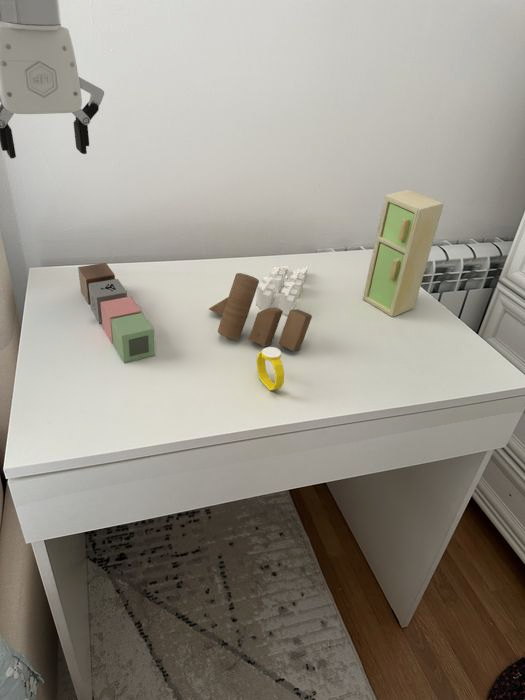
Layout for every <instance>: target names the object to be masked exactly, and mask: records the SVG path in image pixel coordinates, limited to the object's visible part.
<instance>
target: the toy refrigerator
mask: <svg viewBox="0 0 525 700" xmlns="http://www.w3.org/2000/svg"><path fill="white" fill-rule="evenodd" d="M443 207H444V203H443V202H441V201H439V200H436V199H434V198H432V197H429V196H427V195H424V194H423V193H419V192H417V191H414V190H411V189H405V190H399V191H395V192H392V193H387V194H385V196H384V199H383V203H382V207H381V212H380V217H379V222H378V226H377V231H376V236H375V239H374V245H373V249H372V254H371V258H370V259H371V260H370V263H369V268H368V272H367V277H366V280H365V281H366V282H365V285H364V291H363V295H362V300H364V301H365V302H367V303H368V304H370V305H372V306H373V307H375V308H377V309H378V310H380V311H382V312H383V313H385V314H387V315H388V316H390V317H396V316H399V315H401V314H404V313H406V312H408V311H410V310H411V311H412V310H413V309H414V308H415V307H416V303H417V299H418V296H419V293H420V288H421V285H422V282H423V280H424V279H423V278H424V275H425V272H426V268H427V265H428V261H429V257H430V253H431V250H432V248H433V243H434V241H435V240H434V239H435V237H436V232H437V231H438V230H437V229H438V225H439V222H440V219H441V216H442V213H443Z"/></svg>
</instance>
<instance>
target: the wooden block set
mask: <svg viewBox="0 0 525 700" xmlns="http://www.w3.org/2000/svg"><path fill="white" fill-rule="evenodd" d="M259 280H260V279H258V278H257V277H254V276H252V275H249V274H246V273H241V272H237V273H236V274H235V276H234V279H233V282H232V284H231V288H230V291H229V294H228V297H225V298H224V299H222V300H221V301H219V302H218V303H216V304H214V305H212V306H211V307H209V308H208V310H209V311H211V312H213V313H216V314H218V315H220V316H221V319H220V322H219V325H218V329H217V333H218V334H219V335H220V336H222V337H224V338H226V339H230V340H239V339H241V337H242V334H243V331H244V328H245V325H246V322H247V319H248V316H249V313H250V310H251V307H252V304H253V301H254V298H255V296H256V293H257V289H258V286H259V284H260V281H259ZM282 312H283V311H282V310H280V309H279V307H269V308H267V309H265V310H263V309H262V310H261V311H260V312H257V313H256V316H255V319H254V322H253V326H252V328H251V331H250V334H249V336H248V340H249V341H251V342H254V343H256V344H258V345H259V346H262V347H266V346H267V347H268V346H270V345H272V344H273V341H274V338H275V335H276V332H277V329H278V326H279V323H280V320H281V318H282V315H283V314H282ZM312 318H313V315H312V314H310V313H309V312H306V311H304V310H300V309H299V308H294V309H293V310H290V312H289V315H287V318H286V321H285V323H284V326H283V329H282V332H281V334H280V337H279V340H278V343H277V344H278V345H279V346H281V347H283V348H286V349H288V350H290V351H292V352H296V351H298V350H300V349H301V348H302V346H303V343H304V340H305V337H306V335H307V331H308V329H309V326H310V323H311V321H312Z"/></svg>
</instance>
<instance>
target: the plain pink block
mask: <svg viewBox="0 0 525 700" xmlns="http://www.w3.org/2000/svg"><path fill="white" fill-rule="evenodd" d="M100 304H101V314H102V323H101V324H102V330H103V331H104V332H105V334H106V336H107V337H108V339H109V341H110V343H111V345H113V334H112V323H111V319H115V318H120V317H124V316H129V315H134V314H139V313H142V310H141V308H139V306H138V305H137V303H136V302H135V300H134V299H133V298H132V296H127V297H125V298H119V299H114V300H109V301H104V302H100Z"/></svg>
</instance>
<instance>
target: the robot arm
mask: <svg viewBox="0 0 525 700" xmlns="http://www.w3.org/2000/svg"><path fill="white" fill-rule="evenodd" d="M61 21H62V20H61V13H60V2H59V0H0V148H1V150H2V151H3V152H5V151H6V153H7V156H8V157H9V158H10V159H16V158H17V154H16V149H15V141H14V137H13V136H14V135H13V131H12V128H11V127H10V125H9V122H10V120H11V119H12V118H13V116H14V115H15V114H16V115H48V114H52V115H53V114H71V113H72V114H73V116H74V117H75V119H74V121H73V133H74V141H75V148H76V150H77V151H78V152H79V153H80V154H82V155H87V154H88V153H87V152H88V151H87V147H90V138H89V137H90V136H89V135H90V134H89V126H88V125H90V123H91V120H92V119H93V118H94V117H95V115H96V114H97V113H98V112H99V109H100V105H101V104H102V101H103V98H104V96H105V90H103V89H102V88H101V87H99V86H97V85H95V84H93V83H91V82H89V81H87V80H85V79H84V78H82V77H81V76H79V72H78V65H77V60H76V55H75V50H74V45H73V41H72V38H71V34H70V30H69V28H67V27H65V26H62V22H61ZM82 90H83V91H85V92H87V93H88V94H89V95H90V97H89V101H88V102H87V103H86V104H85V105H84V107H82V106H83V105H82V104H83V100H82V99H83V97H82Z"/></svg>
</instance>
